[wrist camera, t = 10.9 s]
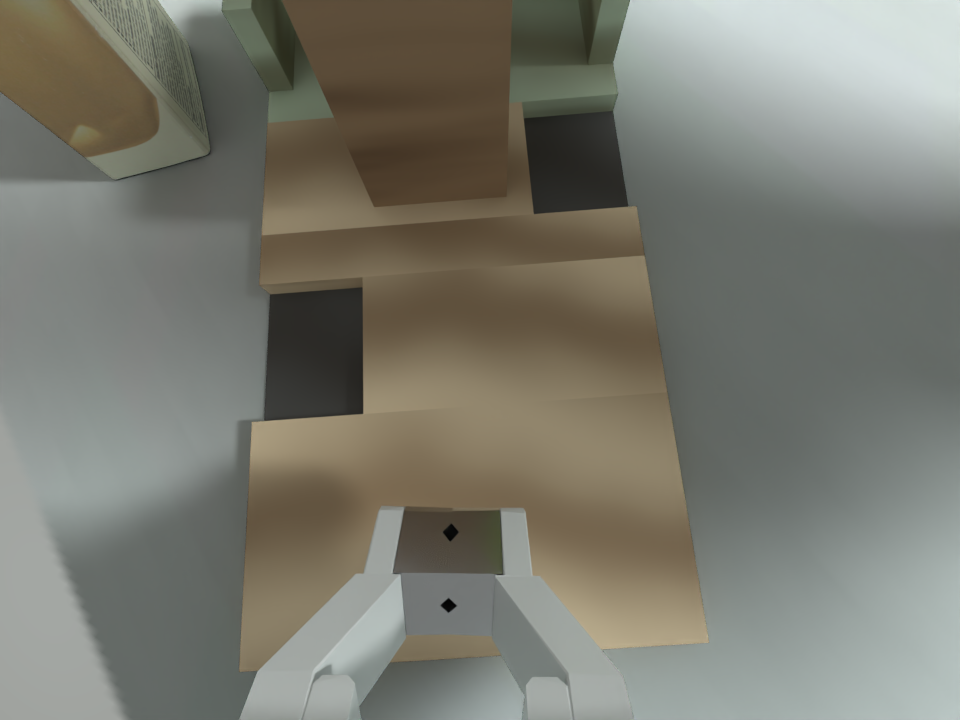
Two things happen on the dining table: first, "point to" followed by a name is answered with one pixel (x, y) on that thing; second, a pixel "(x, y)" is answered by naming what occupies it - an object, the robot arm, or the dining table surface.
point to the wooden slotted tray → (465, 353)
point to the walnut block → (415, 92)
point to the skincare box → (105, 80)
